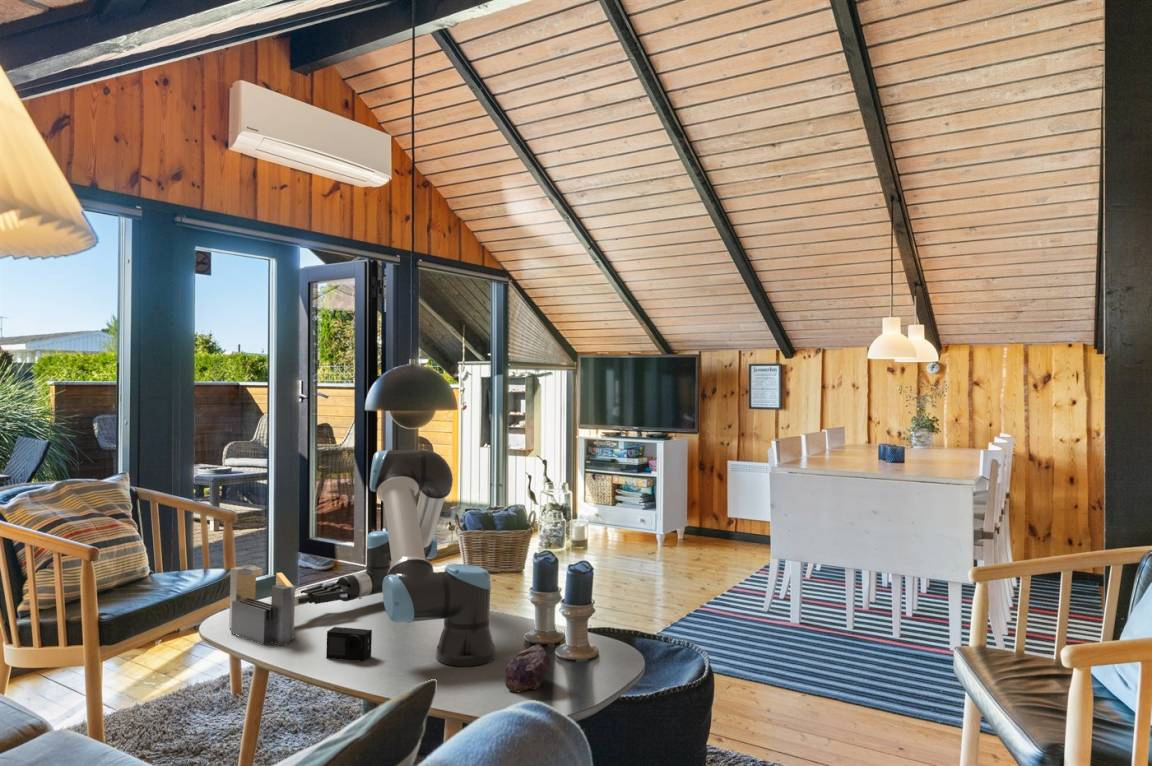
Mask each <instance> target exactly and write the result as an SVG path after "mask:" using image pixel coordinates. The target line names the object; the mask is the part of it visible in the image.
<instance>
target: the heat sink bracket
mask: <svg viewBox="0 0 1152 766" xmlns="http://www.w3.org/2000/svg"><path fill="white" fill-rule="evenodd" d="M263 570H264V569H263V568H262V567H258V566H256V565H254V564H253V565H252V564H247V565H239V566H235V567H230V581H229V582H230V583H229V587H230V588H229V612H228V613H229V614H228V616H229V617H228V618H229V619H228V628H229V627H231V629H230V630H231V631H230V633H234V634H237V635H239V636H241V637H240V638H242V637H244V638H243V639H245V638H247V639H246V640H248V639H250V640H249V641H251V640H253V641H252V642H254V641H256V642H255V643H257V642H259V643H258V644H260V643H262V644H261V645H263V644H264V645H267V644H266V643H268V644H271V643H270V642H273V643H272V644H274V643H276V644H275V645H277V644H279V645H278V646H280V645H283V646H286V645H285V644H287V645H289V644H290V641H291V640H290V609H291V587H288V586H284V585H276V584H275V585H272V586H271V601H270V603H267V602H264V601H261V600H257V599H256V589H257V588H256V587H257V586H256V585H257V583H256V582H257V577H262V576H263ZM239 636H238V637H239ZM288 643H289V644H288Z"/></svg>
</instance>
